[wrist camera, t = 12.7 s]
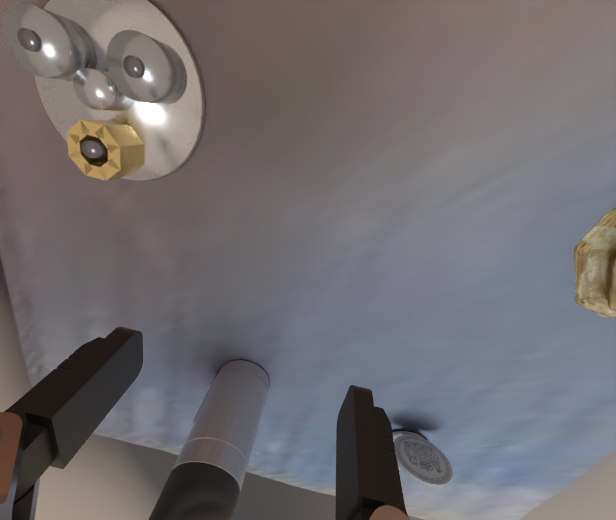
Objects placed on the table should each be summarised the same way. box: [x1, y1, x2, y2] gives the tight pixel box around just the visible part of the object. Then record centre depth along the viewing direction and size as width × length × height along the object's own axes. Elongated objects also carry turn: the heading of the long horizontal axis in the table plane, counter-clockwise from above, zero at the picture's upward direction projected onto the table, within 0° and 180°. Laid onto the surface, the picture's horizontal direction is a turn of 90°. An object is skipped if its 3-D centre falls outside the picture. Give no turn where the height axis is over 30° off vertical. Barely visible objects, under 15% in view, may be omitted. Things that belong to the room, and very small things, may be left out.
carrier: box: [2, 0, 205, 181], centre depth 33 cm, size 20×20×6 cm
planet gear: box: [66, 120, 144, 181], centre depth 35 cm, size 6×6×4 cm
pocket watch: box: [392, 431, 453, 488], centre depth 52 cm, size 10×11×15 cm
